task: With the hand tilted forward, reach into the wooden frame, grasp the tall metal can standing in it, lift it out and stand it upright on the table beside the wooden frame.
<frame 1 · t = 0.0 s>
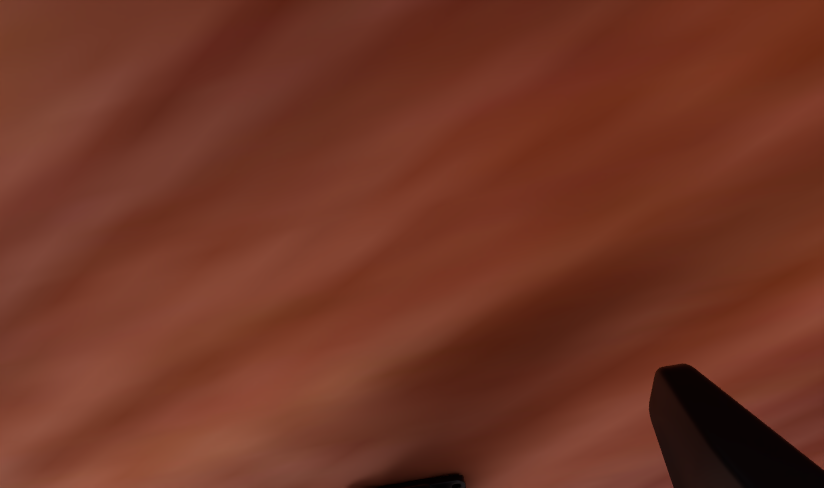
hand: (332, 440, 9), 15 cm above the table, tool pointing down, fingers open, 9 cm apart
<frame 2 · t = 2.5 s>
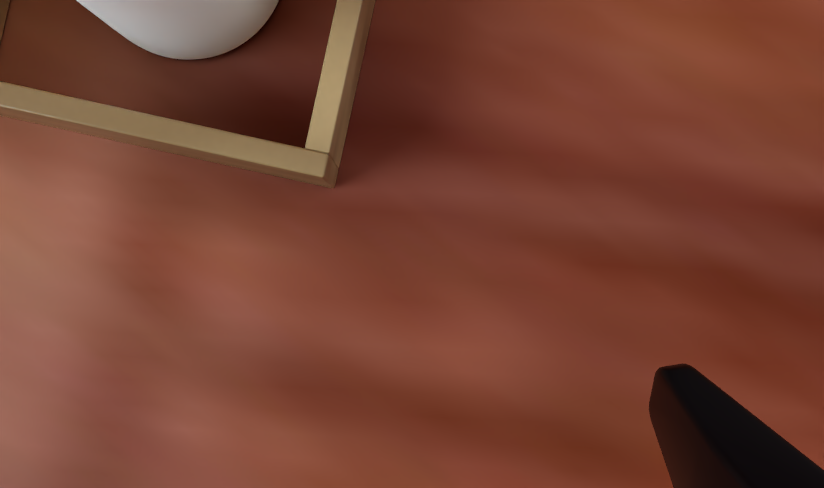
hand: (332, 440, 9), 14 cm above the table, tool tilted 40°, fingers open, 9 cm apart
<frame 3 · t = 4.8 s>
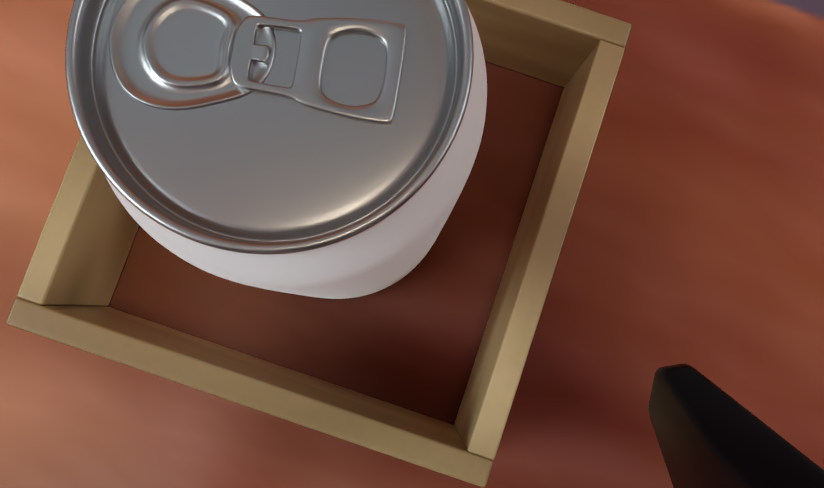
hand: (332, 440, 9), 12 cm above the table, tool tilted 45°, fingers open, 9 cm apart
can: (341, 196, 22), resting in wooden frame
wooden frame: (341, 195, 21), on the table
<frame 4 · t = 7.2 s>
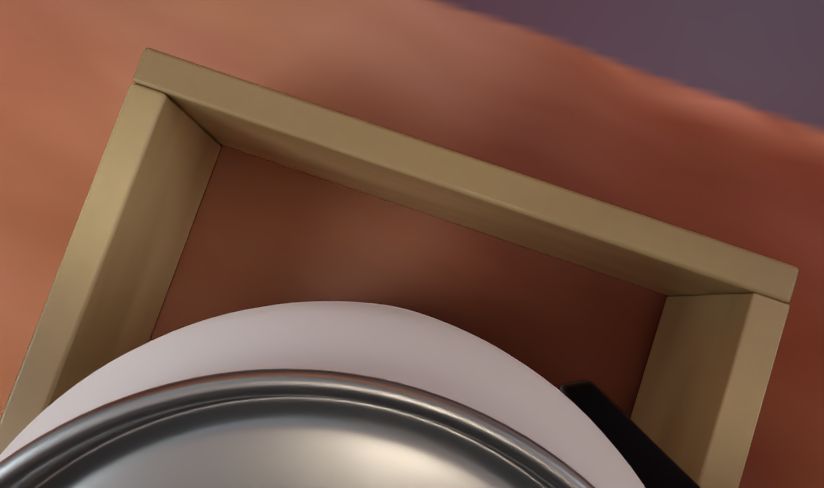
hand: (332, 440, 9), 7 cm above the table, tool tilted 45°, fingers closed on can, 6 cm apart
can: (367, 444, 16), resting in wooden frame, touching gripper
wooden frame: (367, 447, 16), on the table
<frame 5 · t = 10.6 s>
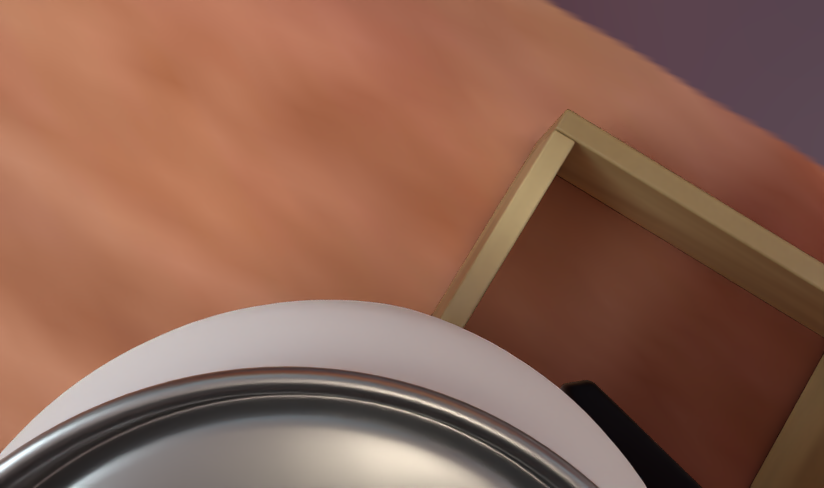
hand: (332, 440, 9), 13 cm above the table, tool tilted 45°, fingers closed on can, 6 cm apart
can: (368, 444, 16), point 6 cm above the table, touching gripper
wooden frame: (603, 397, 23), on the table
when the fingers open (7 cm above the table, at t = 14.4 s): can stays where it is, on the table.
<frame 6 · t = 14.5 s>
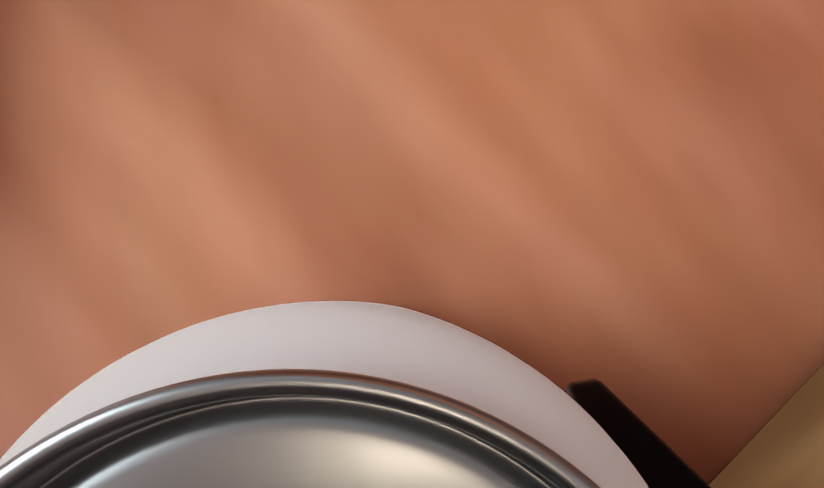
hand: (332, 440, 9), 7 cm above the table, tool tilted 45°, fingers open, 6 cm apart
can: (368, 444, 16), on the table
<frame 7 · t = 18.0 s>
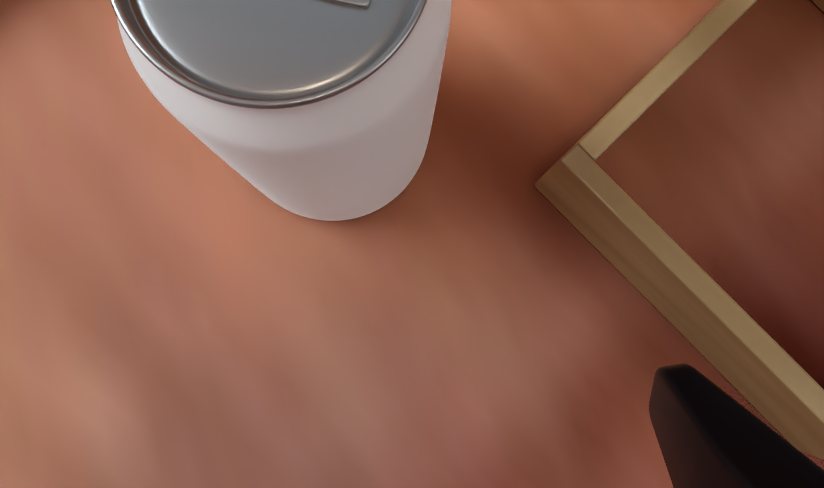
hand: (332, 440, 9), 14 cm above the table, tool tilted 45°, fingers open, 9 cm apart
can: (334, 130, 24), on the table
wooden frame: (787, 189, 24), on the table
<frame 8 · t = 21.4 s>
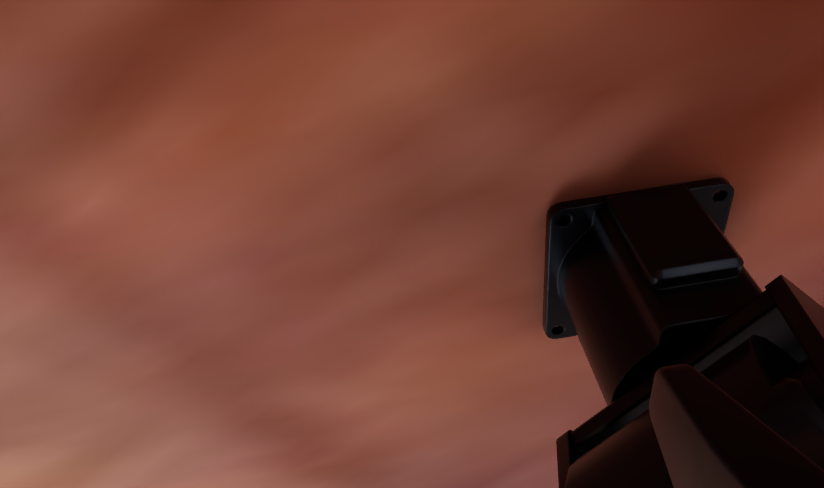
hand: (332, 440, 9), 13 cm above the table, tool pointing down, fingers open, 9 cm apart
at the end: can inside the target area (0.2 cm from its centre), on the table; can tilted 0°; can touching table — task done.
